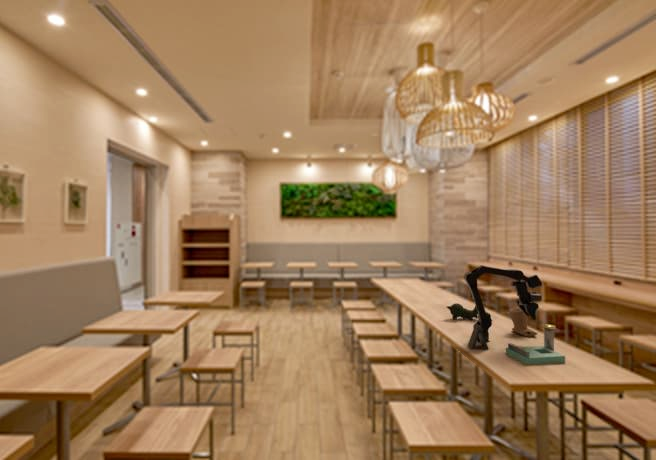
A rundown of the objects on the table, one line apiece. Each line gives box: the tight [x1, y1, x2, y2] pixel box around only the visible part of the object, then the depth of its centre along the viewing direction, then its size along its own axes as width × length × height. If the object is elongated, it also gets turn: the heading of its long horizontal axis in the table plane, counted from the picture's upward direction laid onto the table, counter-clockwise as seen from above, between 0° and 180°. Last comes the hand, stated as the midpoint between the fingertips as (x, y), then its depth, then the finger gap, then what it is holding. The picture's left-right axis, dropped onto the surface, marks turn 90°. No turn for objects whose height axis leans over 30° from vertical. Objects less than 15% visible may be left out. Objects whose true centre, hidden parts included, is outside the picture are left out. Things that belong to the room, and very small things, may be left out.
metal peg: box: [542, 323, 557, 351], centre depth 200 cm, size 6×6×13 cm
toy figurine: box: [445, 294, 484, 321], centre depth 270 cm, size 9×19×25 cm
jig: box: [505, 343, 566, 365], centre depth 189 cm, size 20×16×5 cm
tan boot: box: [509, 308, 538, 337], centre depth 232 cm, size 15×12×15 cm
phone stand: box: [467, 323, 490, 351], centre depth 205 cm, size 9×6×12 cm, turn 88°
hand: (531, 318), depth 214 cm, fingers open, 9 cm apart
